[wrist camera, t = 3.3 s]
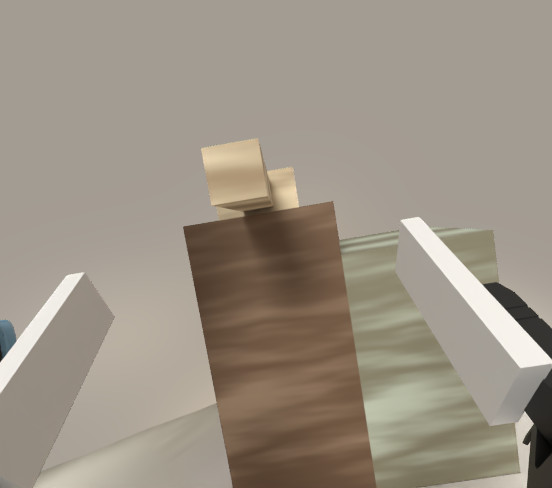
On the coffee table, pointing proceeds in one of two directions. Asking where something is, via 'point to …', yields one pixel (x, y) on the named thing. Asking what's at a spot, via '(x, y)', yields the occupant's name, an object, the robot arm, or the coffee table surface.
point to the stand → (335, 358)
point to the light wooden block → (246, 181)
